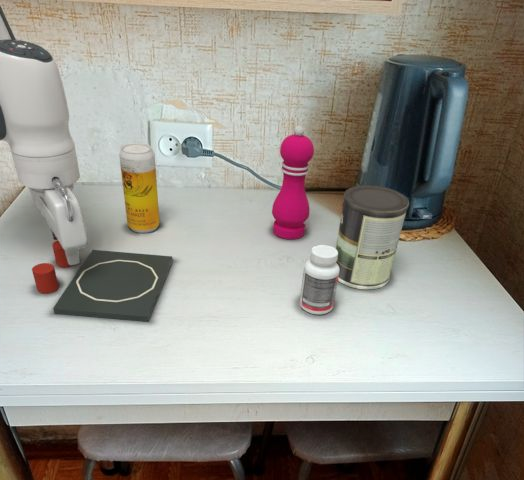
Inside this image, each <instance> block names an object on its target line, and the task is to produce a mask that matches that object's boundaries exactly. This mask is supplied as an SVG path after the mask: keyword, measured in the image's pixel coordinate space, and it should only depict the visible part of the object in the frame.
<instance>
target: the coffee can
mask: <svg viewBox="0 0 524 480" xmlns="http://www.w3.org/2000/svg"><path fill="white" fill-rule="evenodd" d="M409 206H410V201H409V198H408V197H407V196H406V195H404V194H403V193H401V192H400V191H398V190H395V189H393V188H389V187H385V186H381V185H372V184H369V185H366V184H363V185H355V186H352V187H349V188H347V189H346V190H345V191H344V193H343V202H342V206H341V207H342V209H341V212H340V213H341V214H340V220H339V226H338V232H337V239H336V242H335V243H336V244H335V249H336V250H337V251H338V259H337V261H336V263H337V264H338V266H339V269H340V271H339V277H338V282H339V283H341V284H342V285H344V286H345V287H346V286H347V287H349V288H353V289H356V290H365V291H366V290H370V291H371V290H376V289H380V288H383V287H385V286H386V285H387V284H388V283H389V282H390V276H391V272H392V269H393V265H394V262H395V261H394V260H395V257H396V253H397V249H398V245H399V241H400V237H401V234H402V230H403V226H404V222H405V218H406V214H407V211H408V209H409Z"/></svg>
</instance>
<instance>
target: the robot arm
mask: <svg viewBox="0 0 524 480" xmlns="http://www.w3.org/2000/svg"><path fill="white" fill-rule="evenodd" d="M67 101H68V100H67V96H66V92H65V87H64V83H63V80H62V76H61V73H60V69H59V67H58V64H57V62H56V61H55V59H54V57H53V56H52V54H51V53H50V52H49V50H47V49H45V48H44V47H42V46H41V45H38V44H35V43H33V42H31V41H26V40H20V39H18V40H17V38H16V37H15V35H14V32H13V29H12V27H11V26H10V24H9V21H8V19H7V17H6V14H5V13H4V10H3V8H2V6H1V5H0V141H2V142H6V143H7V145H8V146H9V149H10V152H11V156H12V161H13V164H14V168H15V171H16V172H15V173H16V176H17V180H18V182H19V184H20V185H22V186H24V187H25V188H28V190H29V192H30V196H31V198H32V200H33V201H34V204H35V205H36V206H37V209H38V210H39V212H40V213H41V215H42V216H43V218H44V220H45V221H46V223H47V225H48V228H49V231H50V235H51V238H52V239H53V240H54V241H57V240H58V241H59V242H60V244H61V246H62V247H63V249H64V250H65V256H66V260H67V262H68V264H69V265H73V266H74V265H79V264H80V255H79V253H80V249H83V248H86V247H87V246H88V236H87V231H86V227H85V223H84V218H83V214H82V209H81V206H80V203H79V201H78V199H77V196H76V195H75V194H74V193H73V190H74V184H75V183H77V182H78V181H79V180H80V178H81V173H80V167H79V162H78V157H77V149H76V145H75V144H76V143H75V141H74V139H73V137H72V134H71V132H70V128H69V124H70V123H69V121H70V111H69V106H68V102H67Z"/></svg>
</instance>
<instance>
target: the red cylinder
mask: <svg viewBox="0 0 524 480" xmlns="http://www.w3.org/2000/svg"><path fill="white" fill-rule="evenodd" d="M51 246H52V251H53V256H54V259H55V265H56V267H59V268H71V267H73V266H74V265H69V264H68V262H67V260H66V256H65V250H64V249H63V247H62V246H61V244H60V242H59V241H58V240H54V241H53V242H52V244H51Z"/></svg>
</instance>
